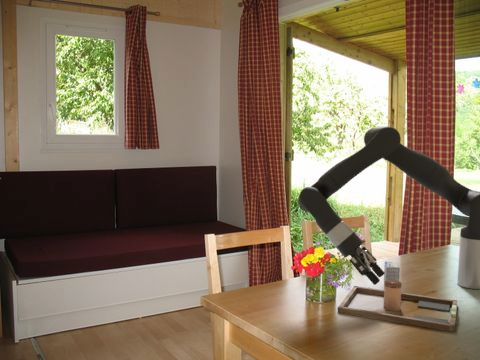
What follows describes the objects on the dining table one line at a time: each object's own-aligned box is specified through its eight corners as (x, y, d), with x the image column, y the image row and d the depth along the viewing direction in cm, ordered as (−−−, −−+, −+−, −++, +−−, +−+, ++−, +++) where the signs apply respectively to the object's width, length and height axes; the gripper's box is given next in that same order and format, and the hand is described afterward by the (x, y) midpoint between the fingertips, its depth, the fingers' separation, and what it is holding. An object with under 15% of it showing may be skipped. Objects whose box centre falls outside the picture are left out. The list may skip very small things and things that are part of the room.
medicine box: (399, 293, 171) (400, 267, 170) (385, 292, 172) (386, 266, 171) (396, 286, 178) (397, 261, 177) (383, 285, 179) (384, 260, 178)
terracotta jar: (384, 304, 160) (386, 279, 159) (401, 306, 158) (402, 281, 157) (382, 309, 155) (383, 283, 154) (399, 311, 153) (400, 286, 152)
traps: (419, 301, 163) (419, 299, 163) (449, 305, 159) (449, 304, 159) (412, 323, 145) (412, 321, 145) (446, 328, 141) (446, 326, 141)
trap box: (354, 290, 173) (354, 283, 172) (456, 305, 159) (457, 298, 159) (337, 312, 152) (338, 304, 152) (454, 331, 139) (454, 323, 139)
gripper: (347, 235, 153) (385, 278, 150) (357, 227, 166) (392, 266, 162) (329, 250, 156) (366, 293, 152) (341, 241, 169) (375, 280, 165)
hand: (379, 279), depth 157 cm, fingers open, 8 cm apart
